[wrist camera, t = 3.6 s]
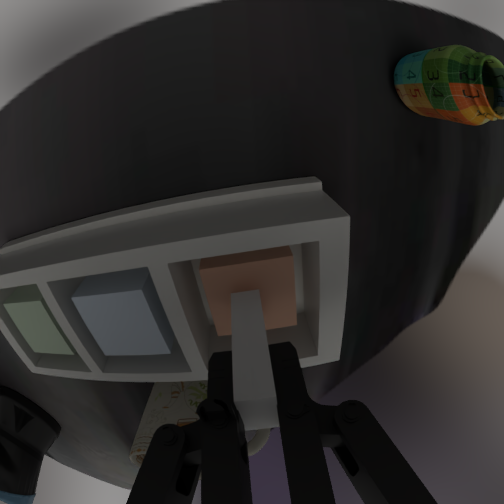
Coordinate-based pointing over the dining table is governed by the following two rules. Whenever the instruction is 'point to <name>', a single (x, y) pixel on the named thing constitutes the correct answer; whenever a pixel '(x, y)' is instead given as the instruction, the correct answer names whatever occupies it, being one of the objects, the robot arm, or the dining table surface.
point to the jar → (452, 84)
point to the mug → (177, 415)
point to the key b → (124, 313)
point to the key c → (251, 285)
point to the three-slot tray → (185, 274)
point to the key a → (37, 321)
